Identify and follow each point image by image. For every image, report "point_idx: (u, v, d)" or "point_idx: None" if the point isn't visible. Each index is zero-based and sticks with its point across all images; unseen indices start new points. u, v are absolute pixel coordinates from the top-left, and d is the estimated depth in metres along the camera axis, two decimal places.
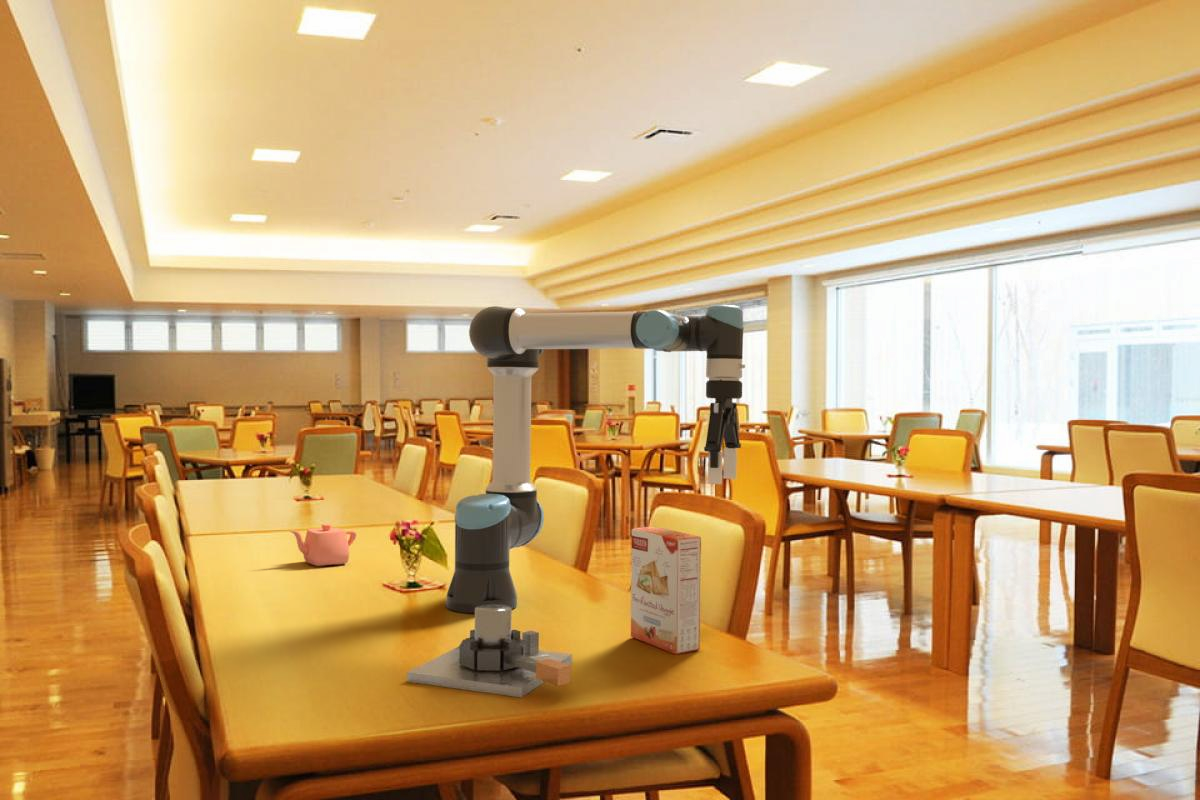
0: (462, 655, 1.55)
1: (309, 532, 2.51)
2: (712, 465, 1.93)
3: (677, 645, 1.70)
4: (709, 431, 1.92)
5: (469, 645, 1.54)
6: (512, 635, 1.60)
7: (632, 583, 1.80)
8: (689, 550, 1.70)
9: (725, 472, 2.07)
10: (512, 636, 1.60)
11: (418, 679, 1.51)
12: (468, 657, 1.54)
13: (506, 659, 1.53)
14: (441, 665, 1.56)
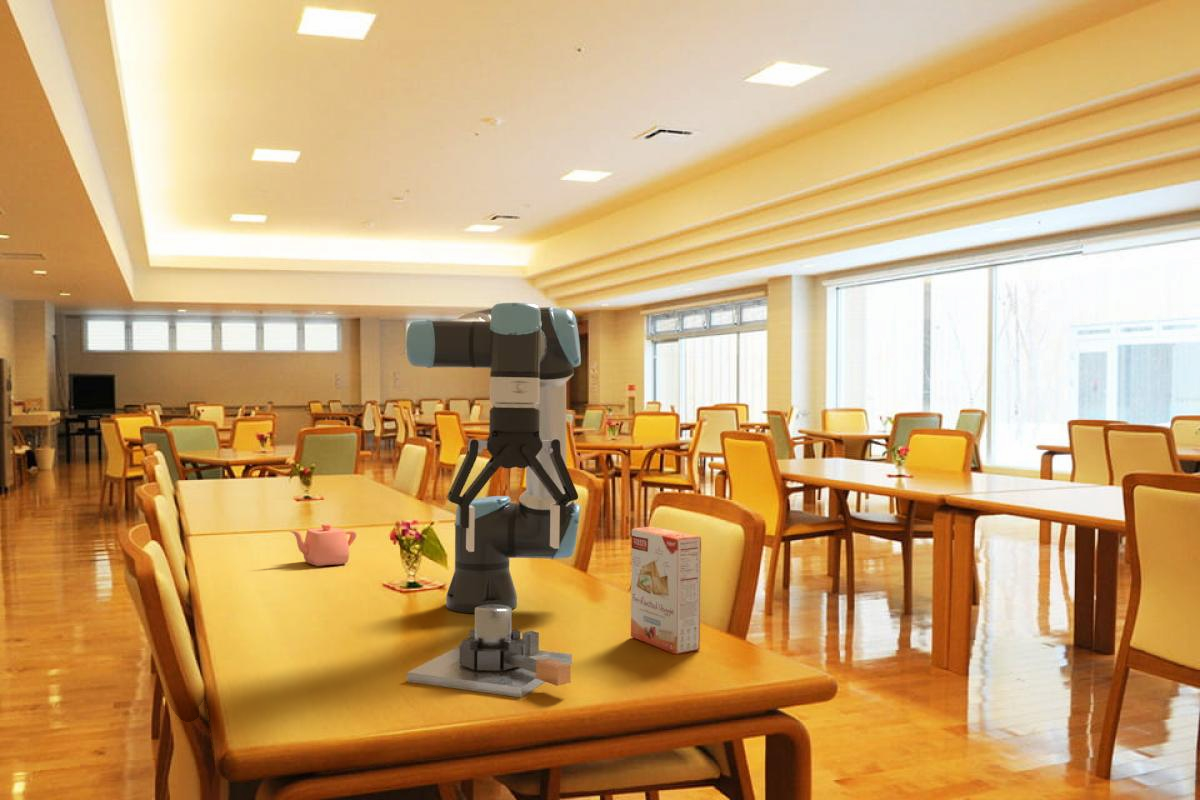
0: (462, 655, 1.55)
1: (309, 532, 2.51)
2: (460, 524, 1.42)
3: (677, 645, 1.70)
4: (456, 477, 1.42)
5: (469, 645, 1.54)
6: (512, 635, 1.60)
7: (632, 583, 1.80)
8: (689, 550, 1.70)
9: (550, 537, 1.47)
10: (512, 636, 1.60)
11: (418, 679, 1.51)
12: (468, 657, 1.54)
13: (506, 659, 1.53)
14: (441, 665, 1.56)
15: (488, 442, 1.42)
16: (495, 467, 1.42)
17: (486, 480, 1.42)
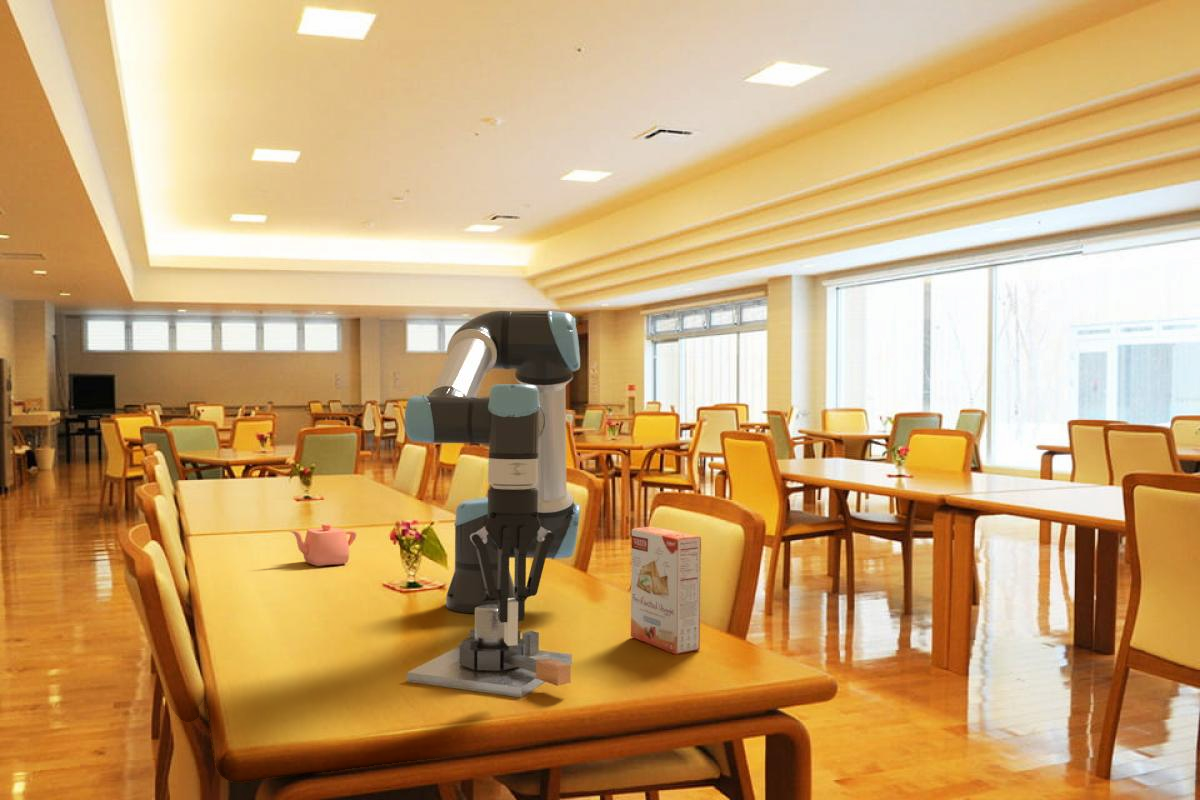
0: (462, 655, 1.55)
1: (309, 532, 2.51)
2: (498, 618, 1.44)
3: (677, 645, 1.70)
4: (482, 573, 1.43)
5: (469, 645, 1.54)
6: None
7: (632, 583, 1.80)
8: (689, 550, 1.70)
9: None
10: None
11: (418, 679, 1.51)
12: (468, 657, 1.54)
13: (506, 659, 1.53)
14: (441, 665, 1.56)
15: (486, 528, 1.42)
16: (507, 552, 1.42)
17: (507, 567, 1.43)
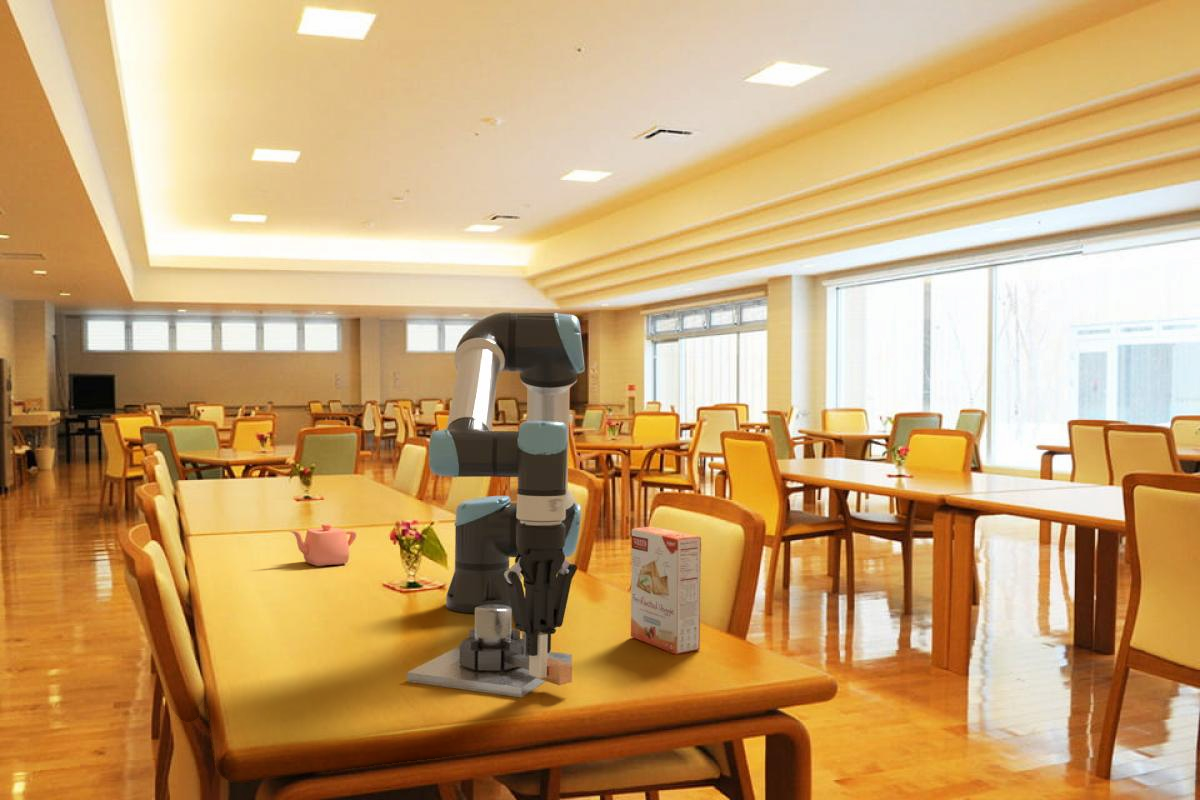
0: (462, 655, 1.55)
1: (309, 532, 2.51)
2: (527, 651, 1.46)
3: (677, 645, 1.70)
4: (513, 609, 1.45)
5: (469, 645, 1.54)
6: (511, 635, 1.60)
7: (632, 583, 1.80)
8: (689, 550, 1.70)
9: None
10: (512, 636, 1.60)
11: (418, 679, 1.51)
12: (469, 657, 1.54)
13: (507, 659, 1.53)
14: (441, 665, 1.56)
15: (521, 564, 1.43)
16: (540, 587, 1.45)
17: (539, 601, 1.45)
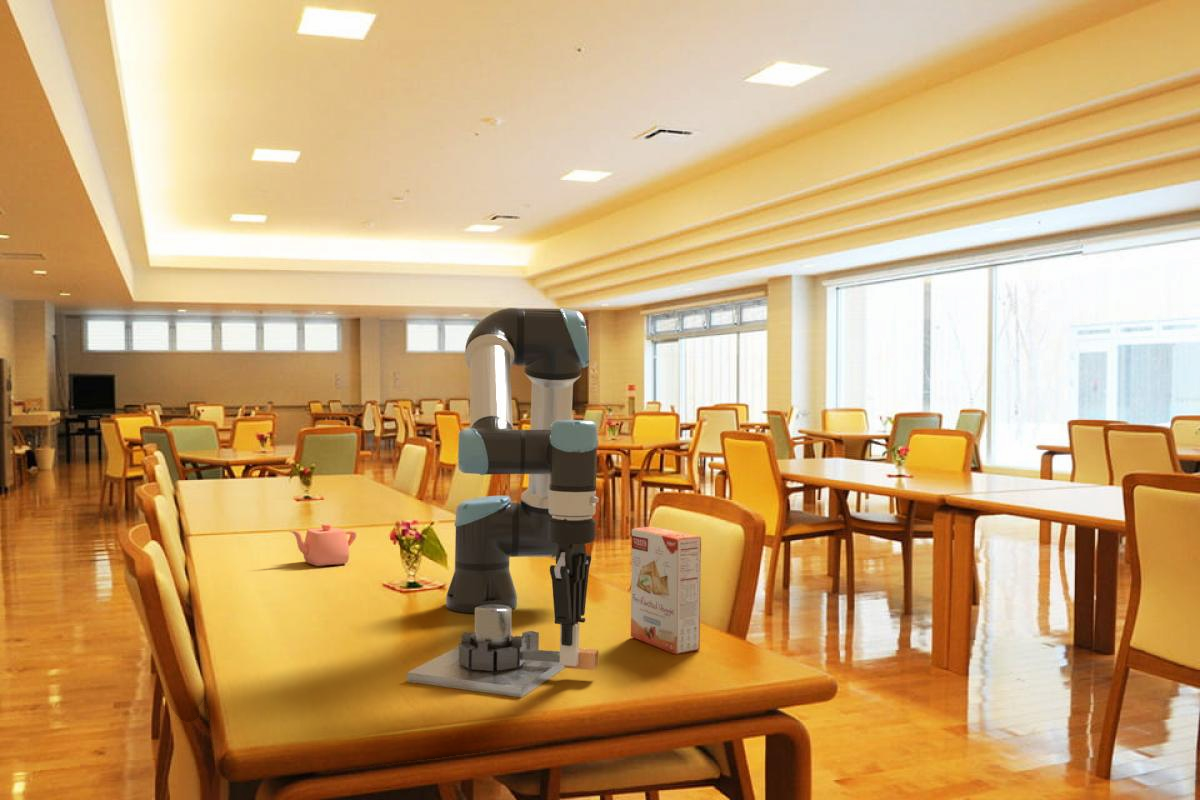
0: (474, 659, 1.53)
1: (309, 532, 2.51)
2: (564, 642, 1.51)
3: (677, 645, 1.70)
4: (555, 603, 1.49)
5: (485, 647, 1.52)
6: None
7: (632, 583, 1.80)
8: (689, 550, 1.70)
9: None
10: None
11: (418, 679, 1.51)
12: (484, 660, 1.52)
13: (520, 655, 1.55)
14: (441, 665, 1.56)
15: (566, 559, 1.49)
16: (578, 579, 1.51)
17: (575, 593, 1.52)
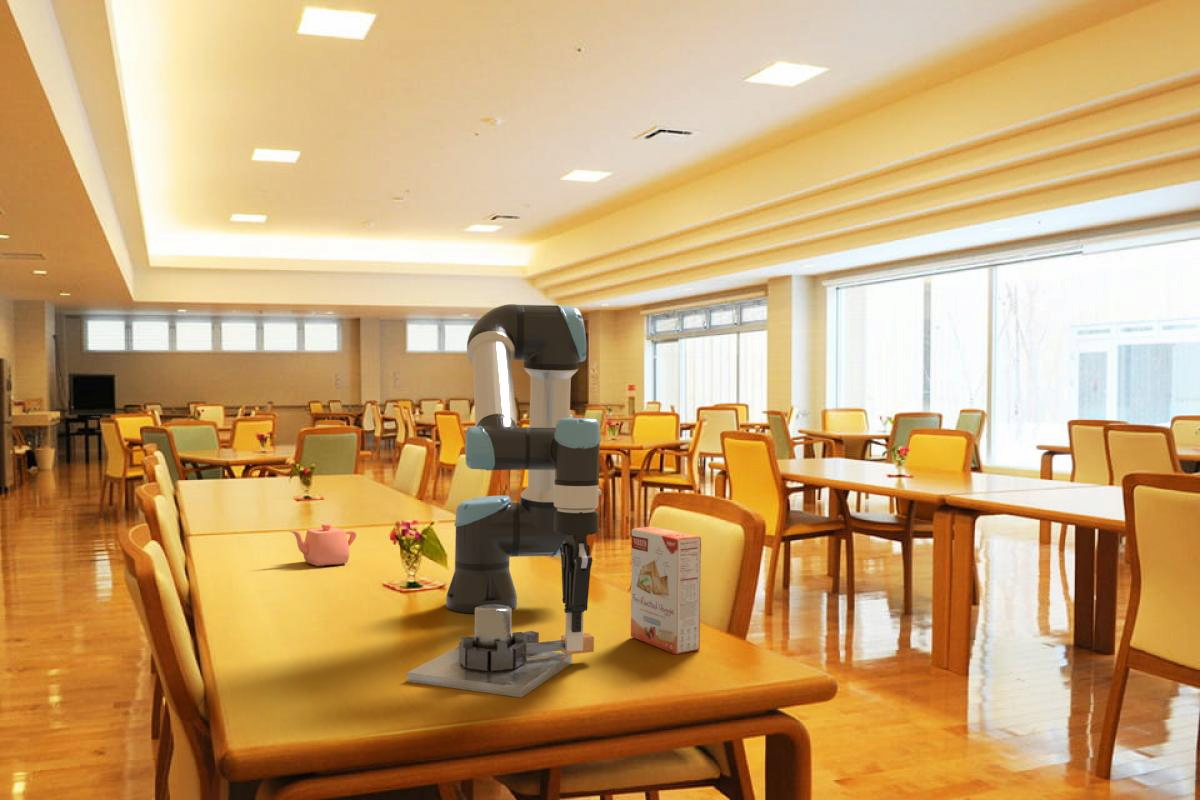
0: (494, 660, 1.52)
1: (309, 532, 2.51)
2: (575, 629, 1.59)
3: (677, 645, 1.70)
4: (576, 592, 1.57)
5: (505, 646, 1.53)
6: None
7: (632, 583, 1.80)
8: (689, 550, 1.70)
9: None
10: None
11: (418, 679, 1.51)
12: (504, 659, 1.53)
13: None
14: (441, 665, 1.56)
15: (586, 549, 1.57)
16: None
17: None
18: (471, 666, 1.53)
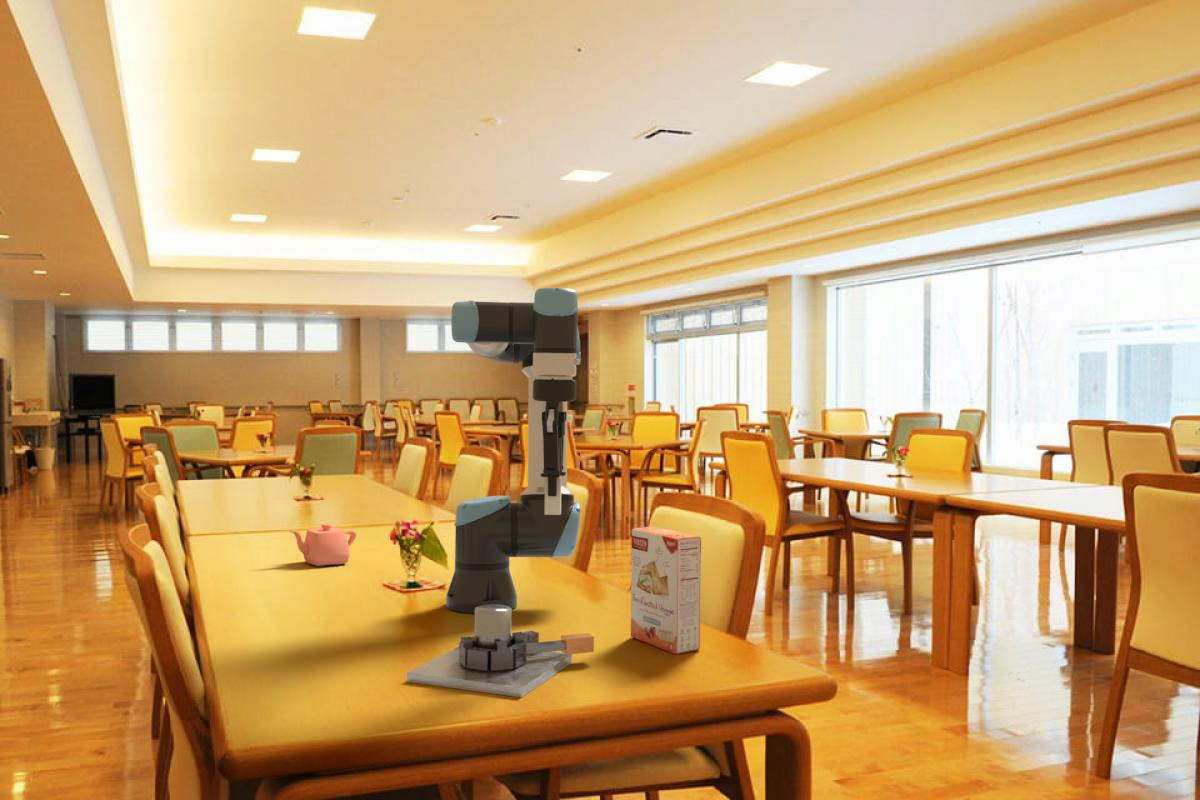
0: (494, 660, 1.52)
1: (309, 532, 2.51)
2: (550, 493, 1.64)
3: (677, 645, 1.70)
4: (545, 456, 1.61)
5: (505, 646, 1.53)
6: None
7: (632, 583, 1.80)
8: (689, 550, 1.70)
9: None
10: None
11: (418, 679, 1.51)
12: (504, 659, 1.53)
13: None
14: (441, 665, 1.56)
15: (555, 414, 1.61)
16: (562, 434, 1.64)
17: None
18: (471, 666, 1.53)
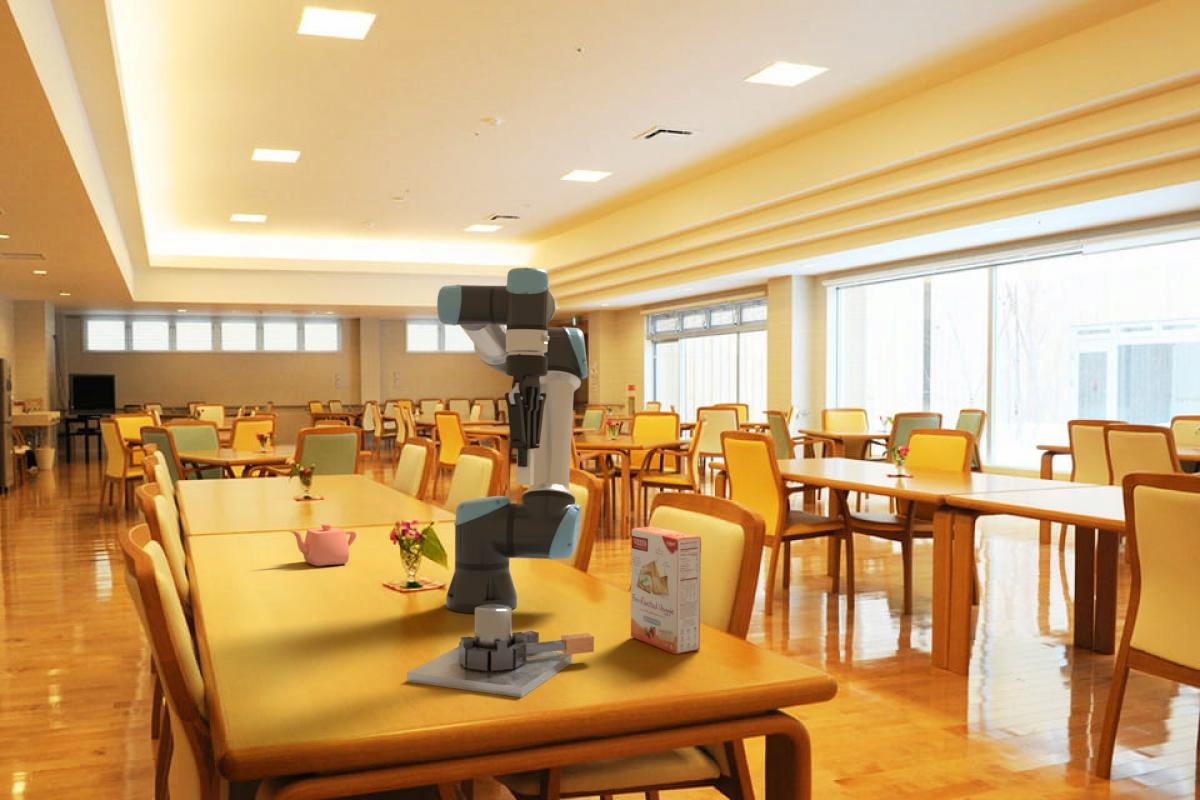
0: (494, 660, 1.52)
1: (309, 532, 2.51)
2: (520, 464, 1.71)
3: (677, 645, 1.70)
4: (511, 427, 1.69)
5: (505, 646, 1.53)
6: None
7: (632, 583, 1.80)
8: (689, 550, 1.70)
9: None
10: None
11: (418, 679, 1.51)
12: (504, 659, 1.53)
13: None
14: (441, 665, 1.56)
15: (520, 388, 1.69)
16: (531, 408, 1.71)
17: (529, 420, 1.72)
18: (471, 666, 1.53)
